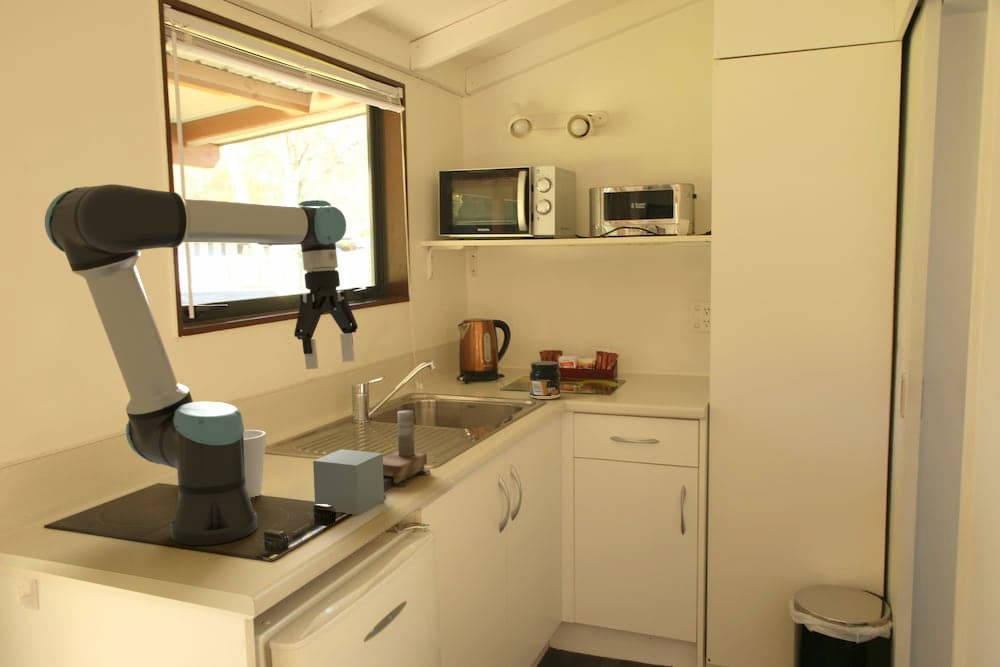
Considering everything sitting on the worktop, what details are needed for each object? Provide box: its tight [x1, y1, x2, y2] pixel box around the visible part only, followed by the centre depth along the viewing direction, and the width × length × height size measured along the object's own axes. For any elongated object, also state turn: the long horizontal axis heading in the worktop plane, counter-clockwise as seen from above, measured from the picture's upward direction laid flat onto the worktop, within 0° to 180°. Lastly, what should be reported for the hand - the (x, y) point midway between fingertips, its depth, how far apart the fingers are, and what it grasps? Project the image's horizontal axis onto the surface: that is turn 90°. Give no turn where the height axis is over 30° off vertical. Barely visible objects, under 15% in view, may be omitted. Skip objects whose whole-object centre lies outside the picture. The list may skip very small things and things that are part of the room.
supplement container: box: [528, 360, 561, 396], centre depth 277 cm, size 10×10×12 cm
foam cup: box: [243, 429, 267, 498], centre depth 172 cm, size 10×9×13 cm
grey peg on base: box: [383, 409, 428, 483], centre depth 182 cm, size 12×7×14 cm, turn 157°
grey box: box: [312, 448, 385, 516], centre depth 164 cm, size 10×10×10 cm
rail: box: [383, 468, 431, 499], centre depth 179 cm, size 22×8×2 cm, turn 157°
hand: (331, 365), depth 183 cm, fingers open, 13 cm apart
